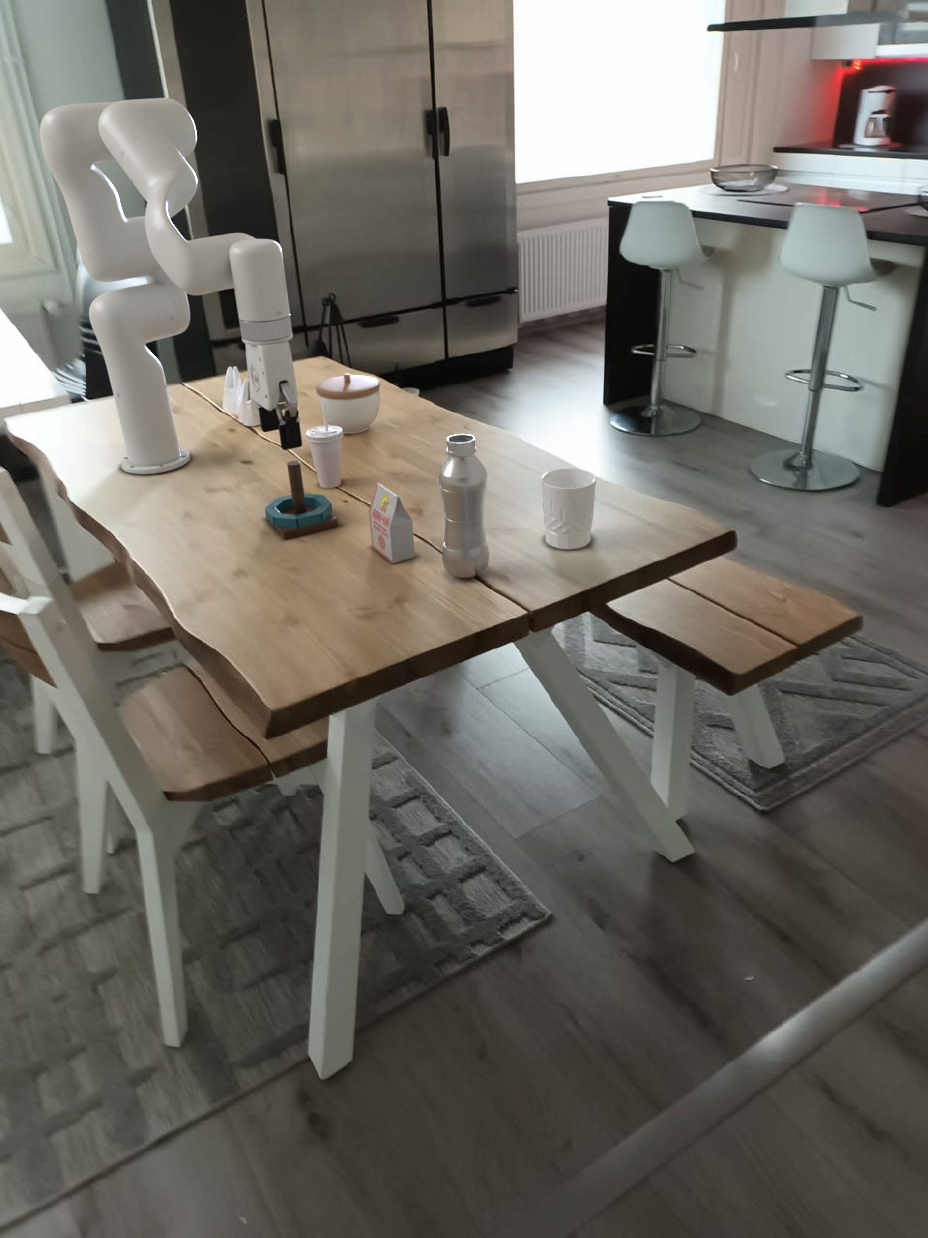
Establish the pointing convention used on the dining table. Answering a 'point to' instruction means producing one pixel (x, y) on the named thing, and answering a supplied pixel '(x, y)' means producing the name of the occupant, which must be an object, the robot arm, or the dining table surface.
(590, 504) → the white cup
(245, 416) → the white twin peak shape
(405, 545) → the white milk carton
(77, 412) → the dining table surface
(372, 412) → the lidded bowl
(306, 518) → the ring
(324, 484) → the smoothie
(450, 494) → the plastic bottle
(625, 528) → the dining table surface
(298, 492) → the brown peg stand
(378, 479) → the dining table surface
